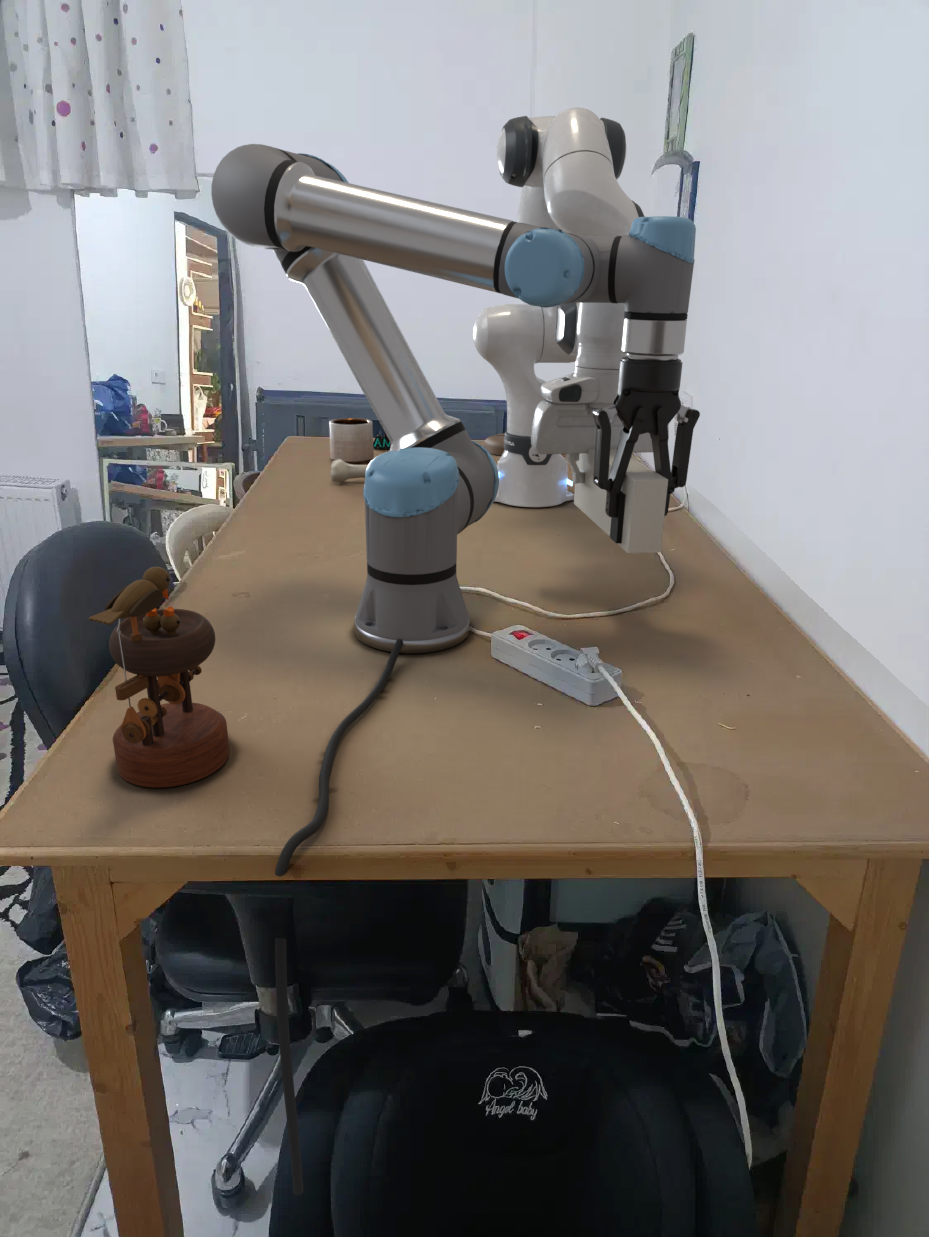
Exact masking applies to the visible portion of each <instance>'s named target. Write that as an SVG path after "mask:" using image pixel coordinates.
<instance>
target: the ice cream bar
mask: <svg viewBox="0 0 929 1237" xmlns="http://www.w3.org/2000/svg"><path fill="white" fill-rule="evenodd" d="M504 437H505V432H502V433H498V434H493V435H490V436H488V437H487V438H485V439H484V443H483V447H484V448H485V449H487V450H488V452H489V453H490V454H491V455H496V456H500V457H501V456H502V454H503V453H504V450H505V449H504Z"/></svg>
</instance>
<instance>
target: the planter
mask: <svg viewBox="0 0 929 1237" xmlns="http://www.w3.org/2000/svg"><path fill="white" fill-rule="evenodd" d="M328 424H329V425H328V426H329V453H330V454H329V455H330V456H329V457H330V459H331V460H332V461H335V460H338V459H341V460H343V461H344V462H346V463H348V464H363V463H367V462H371V461H372V460H373V459H374V458H375V457H374V456H375V455H374V452H375V451H374V450H375V449H374V448H373V442H374V430H373V429H374V428H373V420H371V419H369V418H362V417H361V418H360V417H342V418H341V417H340V418H335V419H334V418H333V419H331V420H329V421H328Z"/></svg>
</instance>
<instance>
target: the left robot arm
mask: <svg viewBox="0 0 929 1237" xmlns="http://www.w3.org/2000/svg"><path fill="white" fill-rule="evenodd" d="M212 176H213V177H212V180H211V186H210V187H211V189H210V191H211V194H210V195H211V201H212V207H213V209H214V212H215V216H216V217H217V220H219V222H220V224H221V225H222V227H223V228H224V229H225V230H226V232H227V233H228V234H230V236H232V237H233V238H234V239H235V240H237V241H238V242H240V243H241V244H244V245H246V246H249V247H251V248H257V249H262V250H263V249H264V250H272V252H273V253H274V255H275V257H276V259H277V260H278V262H279V265H280V266H281V268H282V269H283V272H284V273H285V275H286V277H287V279H288V280H290V281H292V282H296V283H299V284H302V286H304V287H305V289H306V290H307V292H308V294H309V296H310V298H311V300H312V301H313V303H314V305H315V308H316V309H317V311H318V312H319V314H320V316H321V318H322V320H323V321H324V324H325V325H326V327H327V329H328V331H329V333H330V335H331V336H332V338H333V340H334V342H335V344H336V345H337V347H338V349H339V351H340V352H341V354H342V356H343V358H344V360H345V362H346V363H347V365H348V367H349V369H350V371H351V373H352V374H353V376H354V378H355V381H356V382H357V384H358V385H359V388H360V389H361V391H362V392H363V395H364V397H365V398H366V401H367V402H368V404H369V406H370V407H371V409H372V411H373V413H374V415H375V417H376V419H377V420H378V422H379V424H380V426H381V428H382V429H383V431H384V434H385V433H386V435H387V437H388V439H389V440H390V443H391V448H389V450H388V451H386V452H383V453H380V454H379V455H377V456H375V457H373V459H372V460H370V461H369V463H368V464H367V465H368V466H367V468H366V471H365V477H364V485H363V489H362V493H363V494H362V495H363V500H364V520H365V545H366V546H365V550H366V579H365V584H364V586H363V589H362V592H361V596H360V600H359V602H358V606H357V609H356V612H355V615H354V633H355V636H356V638H357V639H358V640H359V641H360V642H362V643H363V644H365V645H367V646H368V647H371V648H374V649H377V650H380V651H384V652H390V654H389V657H388V660H387V663H386V665H385V667H384V669H383V671H382V674H381V675H380V677H379V679H378V680H377V682H376V684H375V685H374V687H373V688H372V689H371V691H370V692H369V694H368V695H367V696H366V697H365V698H364V700H362V701H361V702H360V703H359V704H358V705H357V707H354V709H353V710H352V711H351V712H350V713H349V714H348V715H346V716H345V718H343V719H342V721H341V722H340V723H339V724H338V726H337V727H336V729H335V730H334V731H333V734H332V735H331V737H330V738H329V740H328V743H327V745H326V748H325V752H324V755H323V758H322V763H321V766H320V770H319V775H318V802H317V807H316V811H315V814H314V816H313V818H312V819H311V821H310V822H308V823H307V824H306V825H304V826H303V827H302V828H300V829H299V830H298V831H296V832H295V833H294V834H293V835H292V836H291V837H290V838H289V839H288V840H287V842H286V843H285V844H284V846H283V848H282V849H281V852H280V854H279V857H278V860H277V863H276V867H275V871H274V875H275V876H276V877H283V876H284V875H286V873H287V872H288V870H289V869H288V868H289V865H290V862H291V859H292V857H293V855H294V852H295V851H296V850H297V848H299V846H300V845H301V844H303V842H304V841H306V840H307V839H309V838H310V837H311V836H313V835H314V834H315V833H317V831H318V830H319V829H320V828H321V827H322V826H323V823H324V822H325V819H326V816H327V814H328V810H329V805H330V774H331V770H332V766H333V761H334V758H335V754H336V751H337V748H338V746H339V743H340V742H341V739H342V737H343V736H344V734H345V733H346V731H347V730H348V729H349V727H350V726H351V725H352V724H353V723H354V722H355V721H356V720H357V719H358V718H360V717H361V715H363V714H364V713H365V712H366V711H367V710H368V709H369V708H370V706H372V704H373V703H374V702H375V700H376V699H377V698H378V696H380V693H381V692H382V691H383V689H384V687H385V686H386V684H387V682H388V681H389V678H390V677H391V674H392V672H393V670H394V669H395V666H396V662H397V660H398V657H399V655H400V654H425V653H433V652H439V651H443V650H446V649H449V648H452V647H455V646H457V645H458V644H460V643H462V642H463V641H464V640H466V639H467V637H468V636H469V634H470V615H469V612H468V608H467V606H466V601H465V599H464V596H463V593H462V589H461V586H460V583H459V581H458V577H457V561H458V560H457V559H458V558H457V557H458V556H457V554H458V535H459V534H461V533H462V532H463V531H464V530H466V529H467V528H468V527H469V526H471V525H473V524H475V523H477V522H478V521H479V520H481V519H482V518H483V517H484V516H485V515H486V514H487V512H488V511H489V509H490V508H491V507H492V505H493V504H494V500H495V498H496V496H497V492H498V488H499V473H498V468H497V465H496V464H497V463H496V461H495V458H494V457H493V456H492V455H493V454H492V453H489V452H488V450H487V449H485V448H484V445H482V444H480V443H478V442H476V441H474V440H472V438H471V436H470V435H469V433H468V431H467V429H466V427H465V426H464V424H463V422H462V420H461V419H460V418H458V417H454V416H452V415H448V414H447V413H446V412H445V411H444V409H443V407H442V405H441V404H440V401H439V400H438V397H437V396H436V394H435V392H434V390H433V388H432V386H431V385H430V383H429V381H428V379H427V376H426V375H425V373H424V371H423V370H422V368H421V365H420V364H419V362H418V360H417V358H416V357H415V354H414V352H413V351H412V348H411V347H410V345H409V343H408V341H407V339H406V338H405V336H404V334H403V332H402V330H401V329H400V328H401V327H400V326H399V325H398V323H397V320H396V319H395V317H394V315H393V313H392V312H391V309H390V307H389V305H388V304H387V302H386V301H385V298H384V296H383V294H382V292H381V291H380V289H379V287H378V284H377V283H376V281H375V280H374V278H373V275H372V274H371V272H370V270H369V268H368V266H367V264H366V262H371V263H375V264H378V265H382V266H387V267H391V268H394V269H395V268H396V269H399V270H403V271H407V272H411V273H414V274H419V275H424V276H427V277H432V278H436V279H440V280H444V281H447V282H452V283H457V284H460V285H464V286H467V287H473V288H476V289H481V290H485V291H489V292H493V293H497V294H500V295H503V296H506V297H510V298H515V299H518V300H520V301H521V302H523V303H525V304H529V305H532V306H538V307H545V308H548V307H554V306H557V305H559V304H567V303H624V304H625V312H624V324H623V336H622V348H621V351H622V352H623V353H626V357H623V358H622V360H620V369H619V381H618V393H617V396H616V398H615V400H614V402H613V404H612V405H610V406H607V407H605V408H602V409H600V408H595V409H594V410H593V418H594V421H595V424H596V441H595V458H594V475H593V482H594V484H595V485H597V486H598V487H599V488H601V489H604V490H606V492H607V495H606V507H605V512H606V515H608V516H609V517H611V527H610V536H609V538H610V539H611V541H613V542H614V544H617V543H622V532H623V521H624V509H625V498H626V494H624V493H623V492H622V491H621V488H622V485H623V481H624V478H625V475H626V472H627V468H628V465H629V462H630V459H631V458H632V457H631V455H633V453H632V452H633V449H634V446H635V443H636V442H637V441H638V438H639V434H644V433H650V437H651V439H652V447H653V452H652V455H653V464H654V465H653V466H654V471H655V472H656V473H658V474H660V475H661V476H663V477H665V478H666V479H668V486H667V496H666V505H665V514H664V517H666V516H667V515H668V513H669V511H670V510H669V508H670V501H671V500H670V499H671V494H672V495H673V493H674V492H675V490H676V489H678V488H684V487H685V486H687V480H688V473H689V466H690V457H691V450H692V443H693V434H694V429H695V427H696V425H697V423H698V420H699V418H700V416H701V413H700V411H699V410H697V409H696V408H693V407H690V406H685V405H683V404H682V401H681V398H680V394H679V392H680V388H681V383H682V382H681V380H682V374H683V361H682V360H681V359H680V358H679V356H682V355H683V354H684V353H685V345H686V336H687V325H688V315H689V314H688V313H689V306H690V299H691V291H692V283H693V275H694V268H695V261H696V260H695V251H696V250H695V248H696V232H697V228H696V224H695V223H694V222H693V221H692V219H690V218H688V217H685V216H673V215H672V216H671V215H668V216H667V215H658V216H657V215H656V216H645V217H638V218H636V219H634V220H633V222H632V226H631V230H630V231H629V235H623V236H616V237H614V236H581V235H575V234H570V233H565V232H562V231H560V230H555V229H551V228H546V227H538V226H534V225H530V224H525V223H519V222H517V221H514V220H512V219H507V218H503V217H500V216H499V217H498V216H494V215H489V214H486V213H481V212H477V211H472V210H468V209H464V208H459V207H456V206H455V207H454V206H451V205H447V204H441V203H438V202H432V201H429V200H424V199H419V198H415V197H411V196H407V195H402V194H397V193H394V192H389V191H385V190H381V189H376V188H371V187H367V186H363V185H359V184H354V183H350V182H349V181H348V180H347V178H346V177H345V176H344V174H343V173H342V172H341V171H340V170H339V169H338V168H336V166H334V165H332V164H330V163H329V162H327V161H325V160H324V159H322V158H319V157H318V156H315V155H312V154H308V153H301V152H300V153H296V152H292V151H288V150H284V149H280V148H278V147H274V146H270V145H267V144H263V143H262V144H261V143H248V144H243V145H240V146H237V147H236V148H234V149H232V150H231V151H229V152H227V153H226V154H225V156H223V157H222V159H221V160H220V162H219V163H218V164H217V165H216V168H215V171H214V173H213V175H212ZM615 414H617V415H618V417H619V419H620V420H621V422H622V424H623V425H622V428H621V432H620V440H619V443H618V447H617V450H616V453H615V457H614V460H613V463H612V467H611V470H610V473H609V460H610V445H611V424H612V423H613V422H614V415H615ZM675 417H676V421H677V426H676V431H675V437H674V446H673V454H672V461H671V459H670V451H669V436H670V435H669V436H668V426H667V425H668V424H669V425H670V423H671V422H672V421H673V419H674V418H675ZM608 476H609V477H608ZM274 962H275V963H274V966H275V968H274V969H275V996H276V997H275V998H276V1017H277V1018H276V1019H277V1033H278V1044H279V1045H278V1047H279V1058H280V1070H281V1078H282V1089H283V1097H284V1106H285V1107H284V1108H285V1116H286V1124H287V1125H286V1126H287V1135H288V1145H289V1155H290V1165H291V1176H292V1190H293V1195H295V1196H298V1197H299V1196H301V1195H302V1194H303V1193H304V1180H303V1169H302V1168H303V1167H302V1166H303V1165H302V1153H301V1144H300V1143H301V1142H300V1133H299V1131H300V1130H299V1122H298V1114H297V1111H298V1110H297V1102H296V1094H295V1083H294V1073H293V1062H292V1051H291V1049H292V1048H291V1038H290V1022H289V1021H290V1020H289V1004H288V1003H289V1001H288V999H289V998H288V971H287V968H288V967H287V965H288V964H287V938H281V937H274Z"/></svg>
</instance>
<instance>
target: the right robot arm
mask: <svg viewBox="0 0 929 1237" xmlns="http://www.w3.org/2000/svg"><path fill="white" fill-rule="evenodd" d="M496 143H497V144H496V164H497V167H498V170H499V175H500V177H501V178H502V180H503V181H504V182H505V183H506V184H508V185H511V186H512V187H513V186H514V187H517V188H521V190H520V195H519V199H518V200H519V201H518V208H517V214H516V222H519V223H525V224H530V225H534V226H538V227H546V228H551V229H555V230H560V231H562V232H565V233H570V234H575V235H581V236H614V237H616V236H623V235H629V231H630V230H631V226H632V222H633V220H634V219H636V218H638V217H646V216H645V214H644V212H643V209H642V208H641V206H640V205H639V204H638V203H636V202H635V200H632V199H631V198H630V197H629V196H628V195H627V194H626V192H625V191H624V190H623V188H622V187H621V185H620V184H619V182H618V179H619V178H620V177H621V174H622V172H623V169H624V166H625V164H626V163H625V162H626V159H627V138H626V133H625V130H624V129H623V126H622V124H621V123H620V122H618V121H617V120H613V119H609V118H605V117H601V118H599V116H598V115H597V114H596V113H595V112H594V111H592V110H590V109H588V108H584V107H571V108H567V109H564V110H563V111H561V112H559V113H558V114H557V115H545V116H543V115H542V116H534V117H528V116H527V115H523V116H517V117H513V118H510V119H509V120H507V122H506V123H505V124H504V125H503V126H502V128H501V131H500V134H499V137H498V140H497V142H496ZM624 312H625V304H624V303H567V304H559V305H557V306H554V307H548V308H545V307H538V306H532V305H529V304H527V303H525V304H523V303H505V304H500V305H495V306H490V307H486V308H485V307H484V308H483V309H482V310H481V311H480V312H479V314H478V316H477V317H476V319H475V321H474V324H473V328H472V339H473V344H474V347H475V349H476V351H477V353H478V354H479V355H480V357H482V358H483V359H484V360H485V361H486V362H488V363H489V364H490V366H491V367H492V368H493V369H494V370H495V372H497V374H498V376H499V378H500V380H501V382H502V385H503V388H504V391H505V392H504V393H505V397H506V399H505V400H506V430H505V432H504V433H505V437H504V449H505V450H504V453H503V454H502V456H501V455H500V458H499V460H497V463H496V465H497V468H498V473H499V488H498V492H497V496H496V498H495V500H494V502H495V503H501V504H505V505H508V506H513V507H521V508H522V507H523V508H547V507H554V506H559V505H561V504H563V503H565V502H570V501H574V493H573V492H571V491H569V490H568V486H570V487H573V485H575V484H578V483H584V482H585V479H584V478H585V472H584V471H583V470H579V468H578V466H577V464H576V462H577V461H579V455H580V454H583V453H588V451H589V449H595V441H596V424H595V421H594V418H593V410H594V409H595V408H600V409H602V408H605V407H607V406H610V405H612V404H613V402H614V400H615V398H616V396H617V393H618V381H619V369H620V360H622V358H623V357H626V353H623V352H622V351H621V348H622V336H623V324H624ZM570 363H574V366H573V372H572V373H569V374H566V375H563V376H560V377H557V378H555V379H552V380H548V381H545V380H544V379H542V378H540V377H538V376H537V375H536V372H535V364H570ZM622 425H623V424H622V422H621V420H620V419H619V417H618V415H617V414H615V415H614V422H613V423H612V424H611V445H610V449H617V447H618V443H619V440H620V432H621V428H622ZM669 425H670V423H669V424H668V425H667V426H668V436H670V431H669V429H670V428H669V427H670V426H669ZM633 453H634V454H636V453H637V454H639V453H640V454H641V453H653V447H652V439H651V437H650V433H644V434H639V438H638V441H637V442H636V443H635V446H634V449H633V452H632V455H633ZM563 455H565V457H564V456H563ZM632 455H631V458H633V456H632ZM568 466H569V467H570V468H571V470H572V475H571V476H572V477H571V480H570V479H569V477H568V476H569V473H568V472H569V471H568V470H569V468H568ZM494 502H493V503H494Z"/></svg>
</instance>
